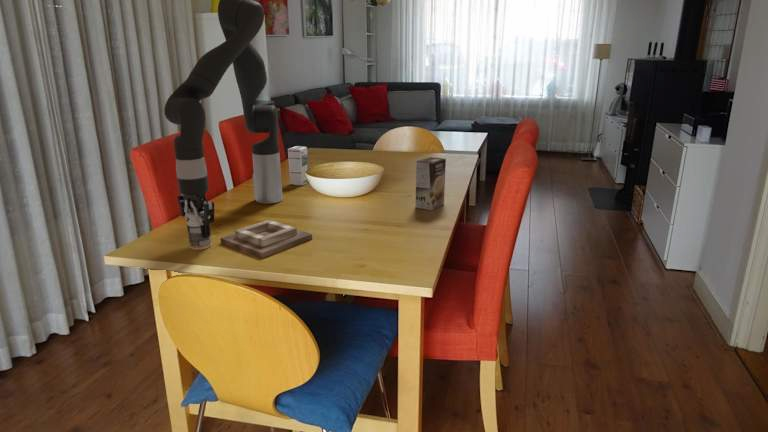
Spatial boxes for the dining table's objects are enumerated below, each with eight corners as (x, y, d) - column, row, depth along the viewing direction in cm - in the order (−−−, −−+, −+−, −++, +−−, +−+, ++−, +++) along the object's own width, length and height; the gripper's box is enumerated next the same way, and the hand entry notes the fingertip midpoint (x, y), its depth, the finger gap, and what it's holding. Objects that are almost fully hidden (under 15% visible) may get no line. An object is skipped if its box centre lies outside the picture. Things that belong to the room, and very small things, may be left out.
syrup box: (303, 185, 206) (301, 149, 202) (289, 184, 208) (287, 148, 204) (309, 182, 212) (307, 146, 207) (296, 181, 213) (294, 145, 209)
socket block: (220, 243, 148) (219, 231, 147) (270, 226, 161) (270, 215, 160) (262, 258, 137) (261, 245, 136) (312, 238, 150) (311, 227, 149)
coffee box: (431, 211, 175) (432, 163, 170) (414, 207, 178) (415, 161, 173) (444, 204, 182) (446, 158, 177) (428, 201, 186) (429, 156, 180)
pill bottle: (192, 243, 148) (188, 209, 144) (213, 242, 148) (210, 208, 145) (187, 250, 142) (182, 216, 139) (209, 250, 143) (205, 215, 140)
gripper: (220, 175, 137) (227, 236, 143) (189, 168, 146) (196, 225, 151) (195, 181, 132) (202, 244, 137) (164, 173, 140) (172, 233, 145)
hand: (199, 234), depth 144 cm, fingers closed on pill bottle, 5 cm apart
